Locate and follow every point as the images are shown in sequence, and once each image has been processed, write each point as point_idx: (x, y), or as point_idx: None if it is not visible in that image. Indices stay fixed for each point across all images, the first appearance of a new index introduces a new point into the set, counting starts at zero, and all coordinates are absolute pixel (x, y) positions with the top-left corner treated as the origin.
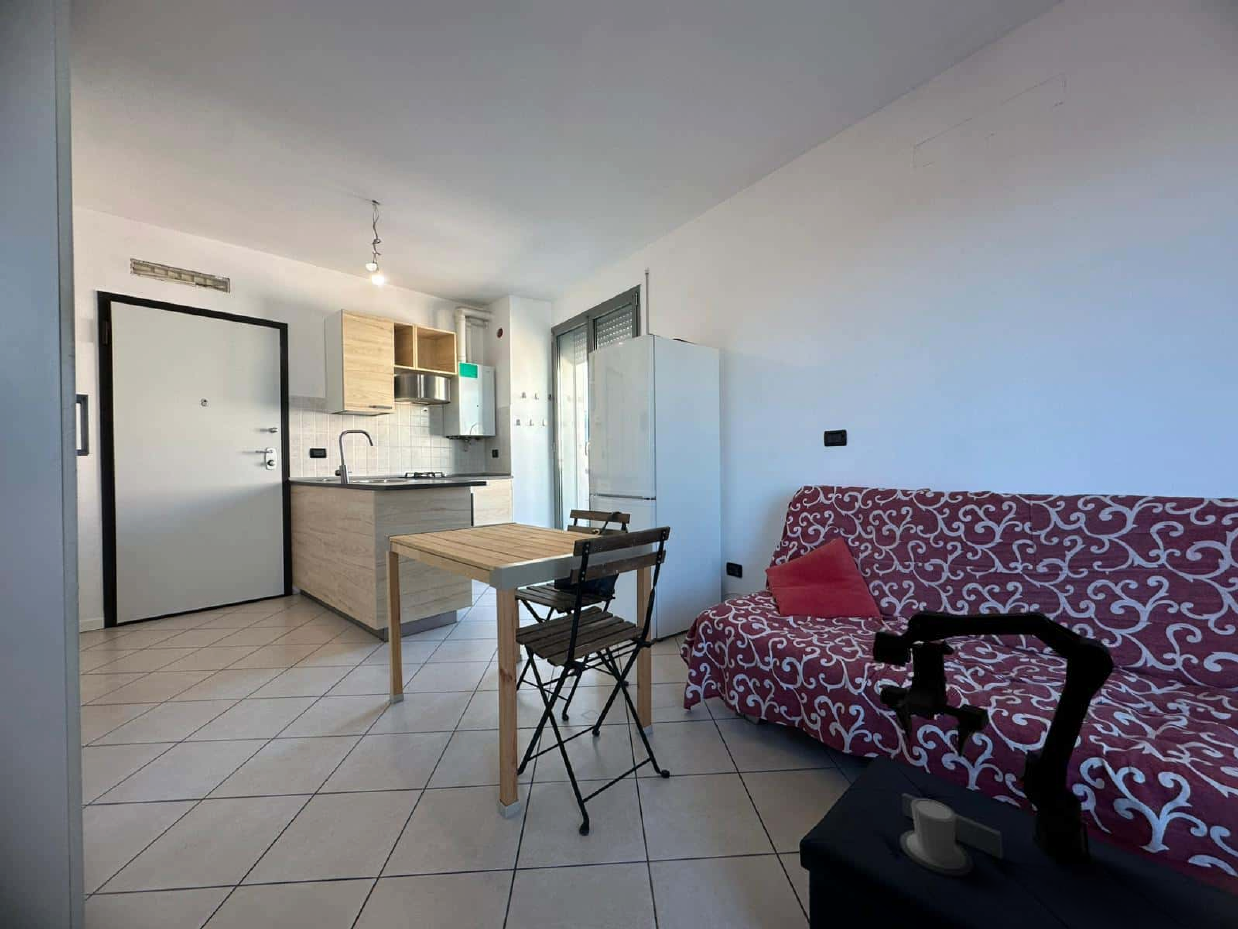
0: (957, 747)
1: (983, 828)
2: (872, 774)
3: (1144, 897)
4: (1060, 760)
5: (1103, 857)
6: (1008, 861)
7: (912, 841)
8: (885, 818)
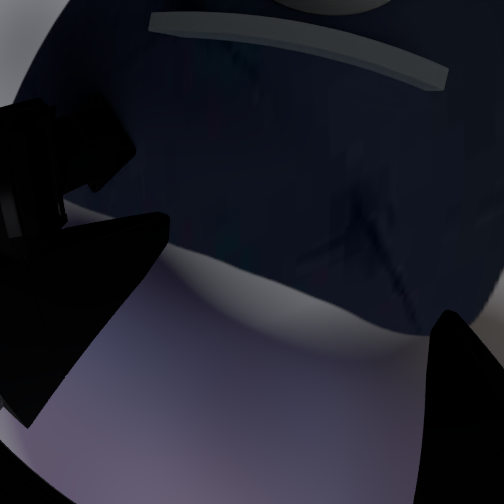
0: (129, 230)
1: (185, 13)
2: (495, 279)
3: None
4: None
5: None
6: None
7: None
8: (469, 38)
